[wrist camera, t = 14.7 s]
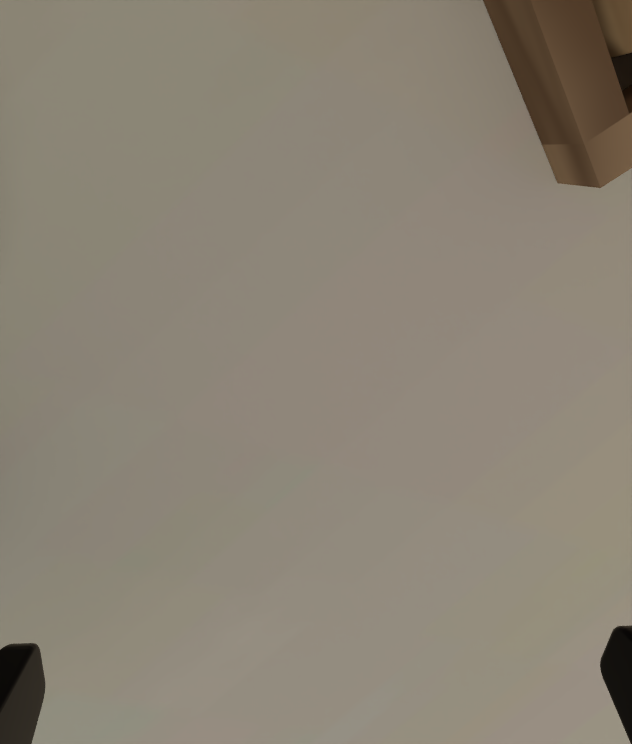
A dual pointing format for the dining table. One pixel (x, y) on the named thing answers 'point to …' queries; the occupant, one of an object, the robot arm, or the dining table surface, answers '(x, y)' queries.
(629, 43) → the oak block
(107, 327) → the dining table surface
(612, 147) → the walnut holder
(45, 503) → the dining table surface
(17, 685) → the robot arm
